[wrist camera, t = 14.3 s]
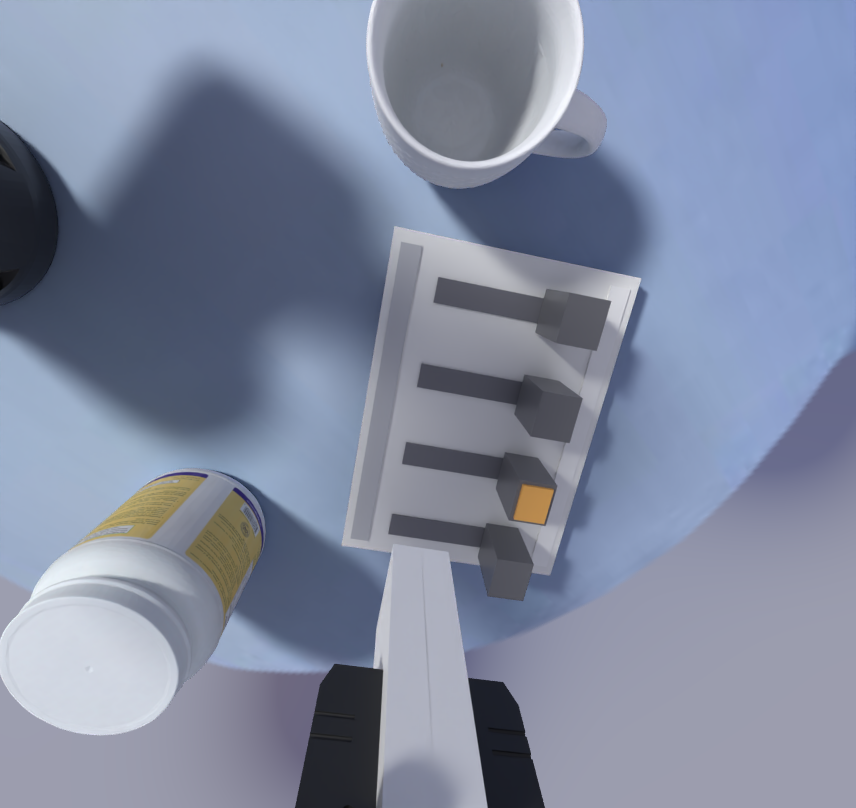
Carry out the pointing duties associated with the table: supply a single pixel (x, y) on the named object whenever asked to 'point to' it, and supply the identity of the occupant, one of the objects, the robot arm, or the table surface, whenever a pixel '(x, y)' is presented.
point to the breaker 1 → (572, 319)
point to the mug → (480, 85)
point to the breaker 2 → (547, 408)
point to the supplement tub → (134, 605)
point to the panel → (470, 394)
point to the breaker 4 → (504, 562)
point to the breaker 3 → (525, 489)
